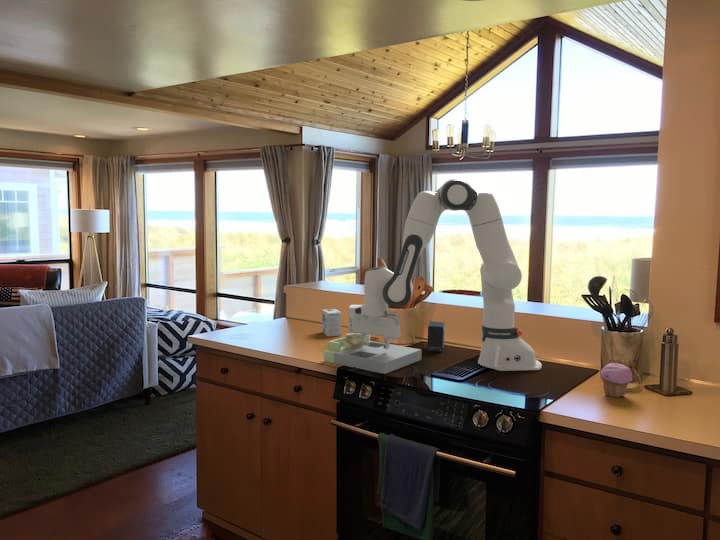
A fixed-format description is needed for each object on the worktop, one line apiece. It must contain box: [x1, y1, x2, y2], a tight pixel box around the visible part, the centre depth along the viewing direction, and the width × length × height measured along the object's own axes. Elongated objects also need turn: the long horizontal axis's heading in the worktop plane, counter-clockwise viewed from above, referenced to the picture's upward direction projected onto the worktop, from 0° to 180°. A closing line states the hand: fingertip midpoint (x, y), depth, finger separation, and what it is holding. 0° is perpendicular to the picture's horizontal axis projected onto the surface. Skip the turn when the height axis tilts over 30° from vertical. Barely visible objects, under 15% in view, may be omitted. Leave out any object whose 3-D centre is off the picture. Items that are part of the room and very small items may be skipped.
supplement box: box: [348, 304, 371, 341], centre depth 250 cm, size 9×9×15 cm
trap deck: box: [323, 335, 422, 375], centre depth 215 cm, size 28×24×7 cm
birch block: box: [344, 332, 363, 349], centre depth 219 cm, size 5×5×5 cm
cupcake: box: [599, 362, 633, 398], centre depth 174 cm, size 9×9×10 cm
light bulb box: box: [321, 308, 343, 337], centre depth 263 cm, size 11×7×11 cm, turn 17°
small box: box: [426, 320, 446, 353], centre depth 234 cm, size 11×6×10 cm, turn 168°
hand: (376, 346), depth 214 cm, fingers open, 8 cm apart
